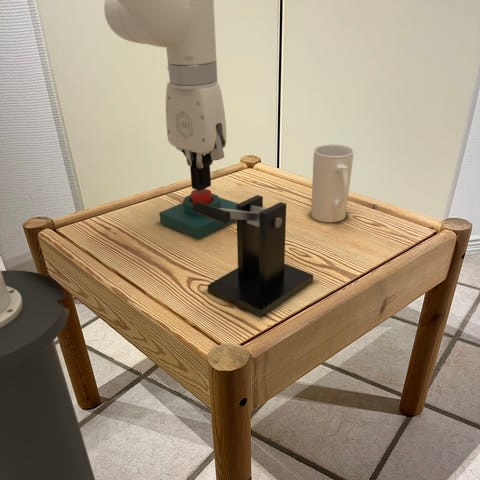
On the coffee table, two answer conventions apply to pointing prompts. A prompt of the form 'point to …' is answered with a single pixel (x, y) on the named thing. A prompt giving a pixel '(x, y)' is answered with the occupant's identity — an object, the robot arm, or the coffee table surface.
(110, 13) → the robot arm
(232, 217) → the lever
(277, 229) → the bracket
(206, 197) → the button
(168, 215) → the button box
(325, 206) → the mug
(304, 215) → the coffee table surface
